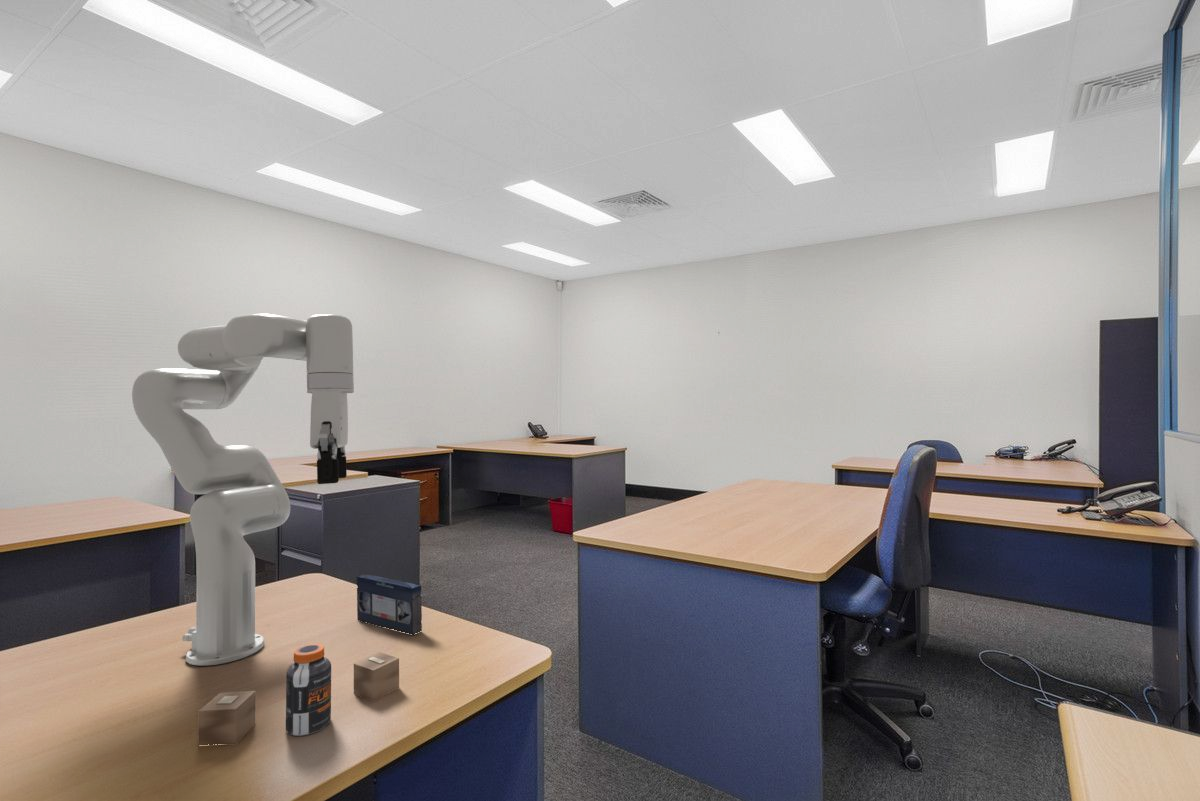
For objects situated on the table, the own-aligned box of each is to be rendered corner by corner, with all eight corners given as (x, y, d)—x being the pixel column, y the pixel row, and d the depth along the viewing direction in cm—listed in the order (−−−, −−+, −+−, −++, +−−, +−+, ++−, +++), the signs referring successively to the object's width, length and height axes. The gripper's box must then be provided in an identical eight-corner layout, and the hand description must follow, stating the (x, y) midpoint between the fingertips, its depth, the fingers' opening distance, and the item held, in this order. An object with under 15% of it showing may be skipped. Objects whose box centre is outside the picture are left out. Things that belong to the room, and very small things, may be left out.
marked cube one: (198, 747, 76) (198, 709, 76) (220, 726, 81) (220, 691, 81) (235, 745, 77) (235, 707, 77) (255, 724, 82) (255, 689, 82)
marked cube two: (353, 694, 90) (353, 662, 90) (379, 681, 95) (379, 651, 95) (373, 702, 88) (373, 669, 88) (399, 688, 92) (399, 657, 92)
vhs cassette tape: (356, 620, 123) (356, 576, 123) (368, 616, 125) (367, 572, 126) (411, 637, 113) (410, 589, 113) (422, 632, 116) (422, 585, 116)
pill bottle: (311, 739, 78) (311, 658, 78) (275, 735, 79) (275, 655, 79) (339, 716, 84) (339, 641, 84) (305, 712, 85) (306, 638, 85)
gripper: (316, 388, 105) (318, 477, 105) (296, 381, 89) (298, 487, 88) (359, 387, 108) (361, 475, 107) (346, 380, 91) (349, 484, 90)
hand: (332, 480), depth 98 cm, fingers open, 9 cm apart
